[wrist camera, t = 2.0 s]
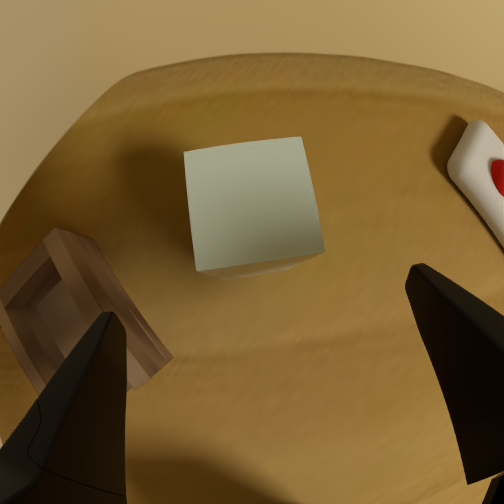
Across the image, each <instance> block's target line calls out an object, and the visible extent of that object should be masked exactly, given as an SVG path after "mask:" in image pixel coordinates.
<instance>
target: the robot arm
mask: <svg viewBox="0 0 504 504" xmlns="http://www.w3.org/2000/svg"><path fill="white" fill-rule="evenodd" d="M405 290H406V293H407V296H408V299H409V302H410V305H411V308H412V311H413V314H414V317H415V320H416V324H417V327H418V330H419V332H420V335H421V337H422V340H423V342H424V345H425V347H426V350H427V352H428V355H429V357H430V360H431V362H432V365H433V368H434V370H435V373H436V376H437V379H438V381H439V384H440V387H441V390H442V393H443V396H444V399H445V402H446V405H447V408H448V411H449V414H450V418H451V421H452V424H453V428H454V431H455V435H456V439H457V443H458V447H459V450H460V454H461V459H462V463H463V467H464V472H465V476H466V481H467V484H468V485H469V484H472V483H475V482H478V481H480V480H483V479H486V478H488V477H491V476H493V475H496V474H498V473H500V472H501V473H500V474H498V475H497V476H496V477H494V478H493V479H492V480H491V483H490V485H489V488H488V490H487V493H486V495H485V498H484V500H483V502H482V504H504V316H503V315H502V314H500V313H499V312H497V311H496V310H495V309H493V308H492V307H490V306H489V305H487V304H486V303H485V302H483V301H482V300H480V299H479V298H477V297H476V296H474V295H473V294H471V293H470V292H468V291H467V290H465V289H464V288H462V287H461V286H459V285H458V284H456V283H455V282H453V281H452V280H450V279H448V278H447V277H445V276H444V275H442V274H441V273H439V272H437V271H436V270H434V269H433V268H431V267H429V266H428V265H426V264H424V263H420V264H415V265H412V266H411V268H410V271H409V274H408V277H407V280H406V283H405ZM126 393H127V334H126V330H125V327H124V326H123V324H122V322H121V321H120V319H119V318H118V316H117V314H116V313H115V312H113V311H109V312H102V313H101V314H100V315H99V316H98V317H97V318H96V320H95V321H94V322H93V323H92V325H91V326H90V327H89V328H88V330H87V331H86V332H85V334H84V335H83V336H82V337H81V339H80V340H79V341H78V343H77V344H76V345H75V346H74V348H73V349H72V350H71V352H70V353H69V354H68V356H67V357H66V358H65V360H64V361H63V362H62V364H61V365H60V367H59V368H58V369H57V371H56V372H55V373H54V375H53V376H52V378H51V379H50V380H49V382H48V383H47V385H46V386H45V388H44V389H43V390H42V392H41V393H40V395H39V396H38V399H36V401H35V402H34V403H33V405H32V406H31V408H30V409H29V411H28V412H27V414H26V415H25V417H24V418H23V419H22V421H21V422H20V423H19V425H18V426H17V428H16V429H15V430H14V432H13V433H12V434H11V435H10V437H9V438H8V439H7V441H6V442H5V443H4V445H3V446H2V447H1V449H0V504H127V498H126V482H125V414H126Z"/></svg>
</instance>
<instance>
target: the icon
mask: <svg viewBox="0 0 504 504" xmlns="http://www.w3.org/2000/svg"><path fill="white" fill-rule="evenodd" d="M447 171H448V174H449V177H450V178H451V180H452V181H453V182H454V183H455V184H456V185H457V187H458V188H459V189H460V190H461V191H462V192H463V194H464V195H465V196H466V197H467V199H468V200H469V201H470V202H471V204H472V205H473V206H474V207H475V209H476V210H477V211H478V213H479V214H480V215H481V217H482V218H483V219H484V221H485V222H486V223H487V225H488V226H489V228H490V229H491V230H492V232H493V233H494V235H495V236H496V238H497V239H498V240H499V242H500V243H501V245H502V246H503V248H504V144H503V143H502V142H501V141H500V139H499V138H498V137H497V136H496V134H495V133H494V132H493V131H492V130H491V128H490V127H489V126H488V125H487V124H486V123H485V122H483V121H481V120H473V121H471V122H470V123H469V124H468V126H467V128H466V129H465V131H464V133H463V135H462V137H461V139H460V141H459V143H458V144H457V146H456V148H455V150H454V152H453V153H452V155H451V157H450V159H449V161H448V164H447Z"/></svg>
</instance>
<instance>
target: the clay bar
mask: <svg viewBox="0 0 504 504" xmlns="http://www.w3.org/2000/svg"><path fill="white" fill-rule="evenodd" d="M184 162H185V174H186V185H187V196H188V206H189V215H190V224H191V233H192V241H193V250H194V257H195V265H196V272H200V273H203V274H206V275H209V276H212V277H215V278H219V279H222V280H226V279H233V278H239V277H246V276H253V275H259V274H266V273H272V272H279V271H285V270H288V269H290V268H292V267H294V266H296V265H298V264H301V263H303V262H305V261H307V260H309V259H312V258H314V257H316V256H318V255H320V254H322V253H324V252H325V247H324V242H323V236H322V231H321V225H320V220H319V215H318V210H317V205H316V200H315V195H314V191H313V186H312V181H311V177H310V172H309V168H308V163H307V159H306V155H305V151H304V146H303V142H302V138H301V137H291V138H280V139H270V140H261V141H253V142H245V143H237V144H230V145H223V146H216V147H210V148H204V149H198V150H192V151H187V152H184Z"/></svg>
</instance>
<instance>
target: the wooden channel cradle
mask: <svg viewBox="0 0 504 504" xmlns="http://www.w3.org/2000/svg"><path fill="white" fill-rule="evenodd" d="M109 311H113V312H115V313H116V314H117V316H118V318H119V319H120V321H121V322H122V324H123V326H124V327H125V330H126V334H127V391H128V390H130V389H131V388H134V389H136V388H138V387H139V386H140V385H142V384H143V383H145V382H146V381H148V380H149V379H150V378H152V377H153V376H154V375H155V374H156V373H157V372H158V371H159V370H160V369H161V368H162V367H164V366H165V365H166V364H167V363H168V362H169V361H170V360H171V359H172V358H173V357H172V355H171V354H170V353H169V351H168V350H167V349H166V348H165V346H164V345H163V344H162V342H161V341H160V340H159V338H158V337H157V336H156V334H155V333H154V332H153V330H152V329H151V328H150V326H149V325H148V323H147V322H146V321H145V319H144V318H143V316H142V315H141V314H140V312H139V311H138V309H137V308H136V306H135V305H134V304H133V302H132V301H131V299H130V298H129V296H128V295H127V293H126V292H125V290H124V289H123V287H122V286H121V284H120V283H119V281H118V279H117V278H116V276H115V275H114V273H113V272H112V270H111V268H110V267H109V265H108V264H107V262H106V260H105V259H104V257H103V255H102V254H101V252H100V250H99V249H98V247H97V245H96V244H95V242H94V240H93V239H91V238H88V237H84V236H81V235H78V234H75V233H72V232H69V231H66V230H63V229H60V228H58V227H54V228H53V229H52V230H51V231H50V232H49V233H48V235H47V236H46V237H45V238H44V239H43V240H42V241H41V242H40V243H39V244H38V245H37V246H36V247H35V249H34V250H33V251H32V252H31V253H30V254H29V255H28V256H27V257H26V259H25V260H24V261H23V262H22V263H21V264H20V266H19V267H18V268H17V269H16V270H15V272H14V273H13V274H12V275H11V276H10V278H9V279H8V280H7V281H6V283H5V284H4V285H3V286H2V288H1V289H0V326H1V328H2V330H3V333H4V335H5V337H6V339H7V341H8V343H9V345H10V347H11V349H12V351H13V353H14V354H15V356H16V358H17V360H18V362H19V364H20V365H21V367H22V369H23V371H24V372H25V374H26V376H27V377H28V379H29V381H30V382H31V384H32V386H33V387H34V389H35V390H36V392H37V394H38V395H40V393H41V392H42V390H43V389H44V388H45V386H46V385H47V383H48V382H49V380H50V379H51V378H52V376H53V375H54V373H55V372H56V371H57V369H58V368H59V367H60V365H61V364H62V362H63V361H64V360H65V358H66V357H67V356H68V354H69V353H70V352H71V350H72V349H73V348H74V346H75V345H76V344H77V343H78V341H79V340H80V339H81V337H82V336H83V335H84V334H85V332H86V331H87V330H88V328H89V327H90V326H91V325H92V323H93V322H94V321H95V320H96V318H97V317H98V316H99V315H100V314H101V313H102V312H109Z"/></svg>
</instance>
